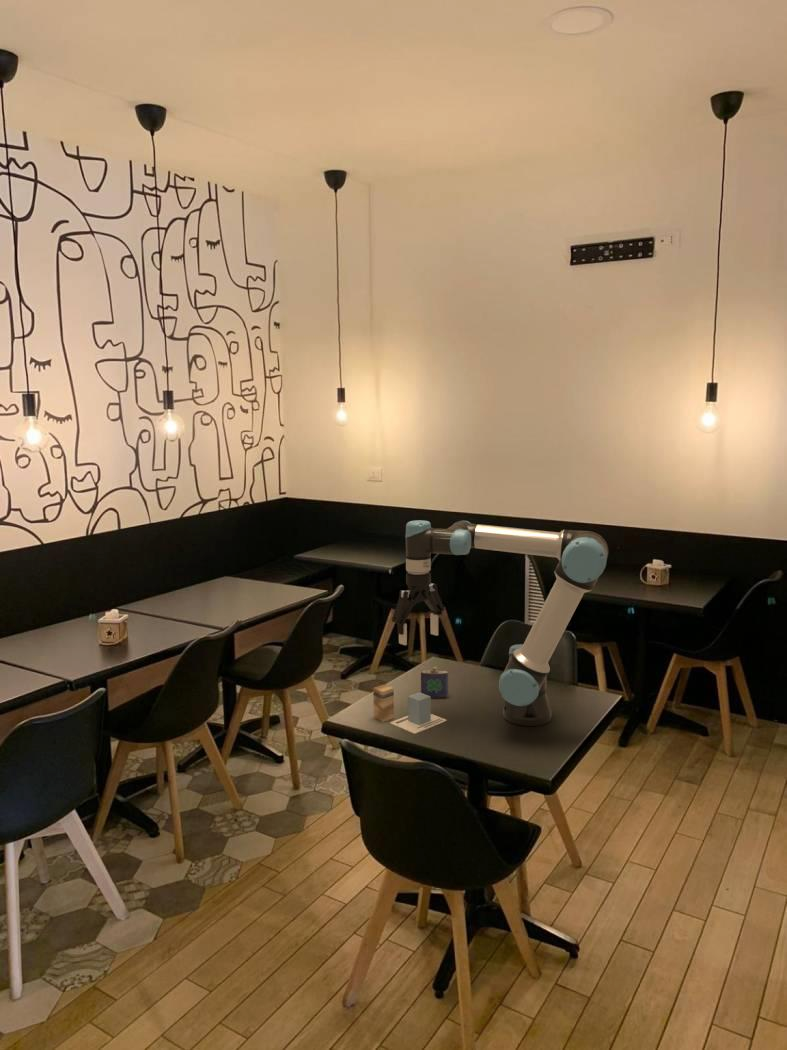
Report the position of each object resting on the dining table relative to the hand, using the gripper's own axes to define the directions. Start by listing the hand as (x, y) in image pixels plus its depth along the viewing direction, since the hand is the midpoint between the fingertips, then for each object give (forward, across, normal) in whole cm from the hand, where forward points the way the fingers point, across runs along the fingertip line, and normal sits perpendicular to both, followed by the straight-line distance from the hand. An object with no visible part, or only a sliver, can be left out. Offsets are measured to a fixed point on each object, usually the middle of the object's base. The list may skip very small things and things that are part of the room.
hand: (418, 639), depth 242 cm
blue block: (+26, 0, 0) cm, 26 cm away
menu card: (+27, 0, 0) cm, 27 cm away
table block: (+27, -6, +10) cm, 29 cm away
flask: (+27, +18, +11) cm, 34 cm away
